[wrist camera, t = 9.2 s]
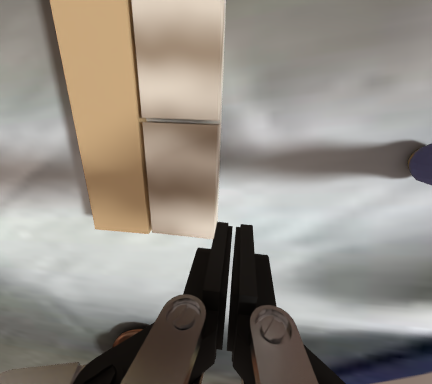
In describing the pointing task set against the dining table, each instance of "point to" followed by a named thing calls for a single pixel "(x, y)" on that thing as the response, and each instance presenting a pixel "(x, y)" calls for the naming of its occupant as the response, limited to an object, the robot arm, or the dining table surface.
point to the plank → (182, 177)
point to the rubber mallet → (421, 164)
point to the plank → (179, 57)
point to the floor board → (109, 108)
